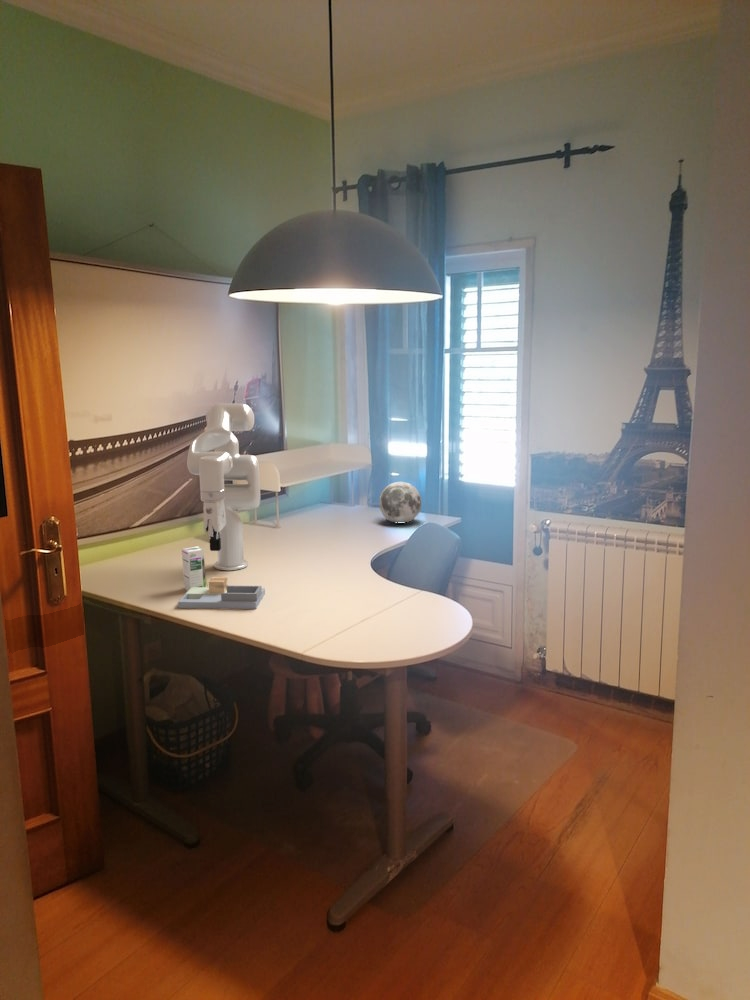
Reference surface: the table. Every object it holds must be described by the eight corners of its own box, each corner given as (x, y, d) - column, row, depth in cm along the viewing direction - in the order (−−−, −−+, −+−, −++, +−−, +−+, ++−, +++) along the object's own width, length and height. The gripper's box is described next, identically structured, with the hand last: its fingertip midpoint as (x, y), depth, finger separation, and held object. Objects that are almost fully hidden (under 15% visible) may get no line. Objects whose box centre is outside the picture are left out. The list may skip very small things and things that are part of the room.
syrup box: (190, 592, 248) (188, 551, 246) (183, 588, 253) (181, 547, 250) (206, 589, 252) (204, 548, 249) (199, 585, 256) (197, 545, 254)
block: (213, 588, 247) (212, 576, 246) (227, 588, 247) (227, 577, 246) (209, 593, 242) (208, 581, 241) (224, 593, 242) (223, 581, 241)
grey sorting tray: (191, 592, 248) (191, 580, 248) (264, 593, 247) (264, 580, 247) (178, 607, 234) (177, 594, 233) (256, 608, 233) (255, 595, 232)
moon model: (377, 518, 359) (377, 478, 355) (418, 518, 360) (418, 478, 356) (380, 528, 339) (380, 485, 335) (423, 527, 340) (424, 485, 336)
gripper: (218, 500, 225) (221, 557, 230) (229, 489, 240) (232, 543, 244) (194, 500, 226) (197, 557, 230) (207, 489, 240) (210, 543, 245)
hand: (215, 549), depth 237 cm, fingers closed
